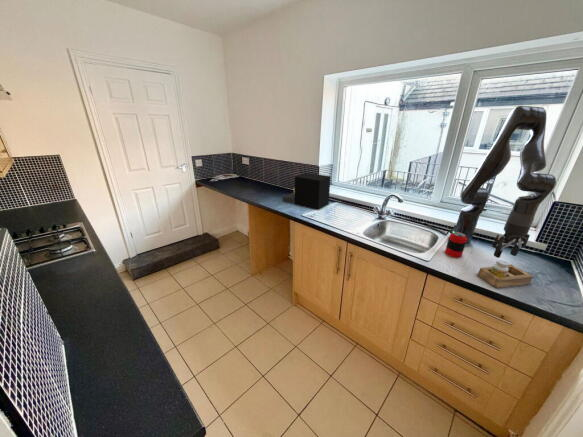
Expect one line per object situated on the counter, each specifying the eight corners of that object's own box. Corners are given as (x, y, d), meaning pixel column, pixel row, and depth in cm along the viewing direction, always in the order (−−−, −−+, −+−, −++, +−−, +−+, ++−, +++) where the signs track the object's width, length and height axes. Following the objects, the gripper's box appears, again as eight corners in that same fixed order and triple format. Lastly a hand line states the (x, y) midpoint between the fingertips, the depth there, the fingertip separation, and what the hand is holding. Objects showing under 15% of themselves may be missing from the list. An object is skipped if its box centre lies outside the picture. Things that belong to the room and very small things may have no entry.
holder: (477, 275, 114) (480, 267, 112) (508, 271, 116) (511, 264, 115) (496, 288, 105) (500, 280, 103) (529, 283, 108) (533, 276, 106)
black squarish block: (294, 196, 222) (294, 170, 213) (328, 204, 204) (330, 176, 195) (282, 201, 209) (282, 174, 200) (318, 210, 190) (319, 180, 181)
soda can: (447, 256, 128) (453, 236, 123) (443, 249, 135) (448, 230, 130) (463, 258, 126) (470, 238, 122) (458, 251, 133) (464, 232, 128)
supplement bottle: (506, 282, 109) (513, 264, 105) (498, 285, 107) (506, 266, 103) (492, 275, 113) (499, 257, 109) (485, 278, 111) (492, 260, 108)
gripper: (523, 217, 103) (509, 250, 110) (495, 219, 101) (483, 252, 107) (543, 224, 96) (527, 259, 103) (513, 227, 94) (499, 262, 101)
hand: (504, 255), depth 105 cm, fingers open, 8 cm apart
